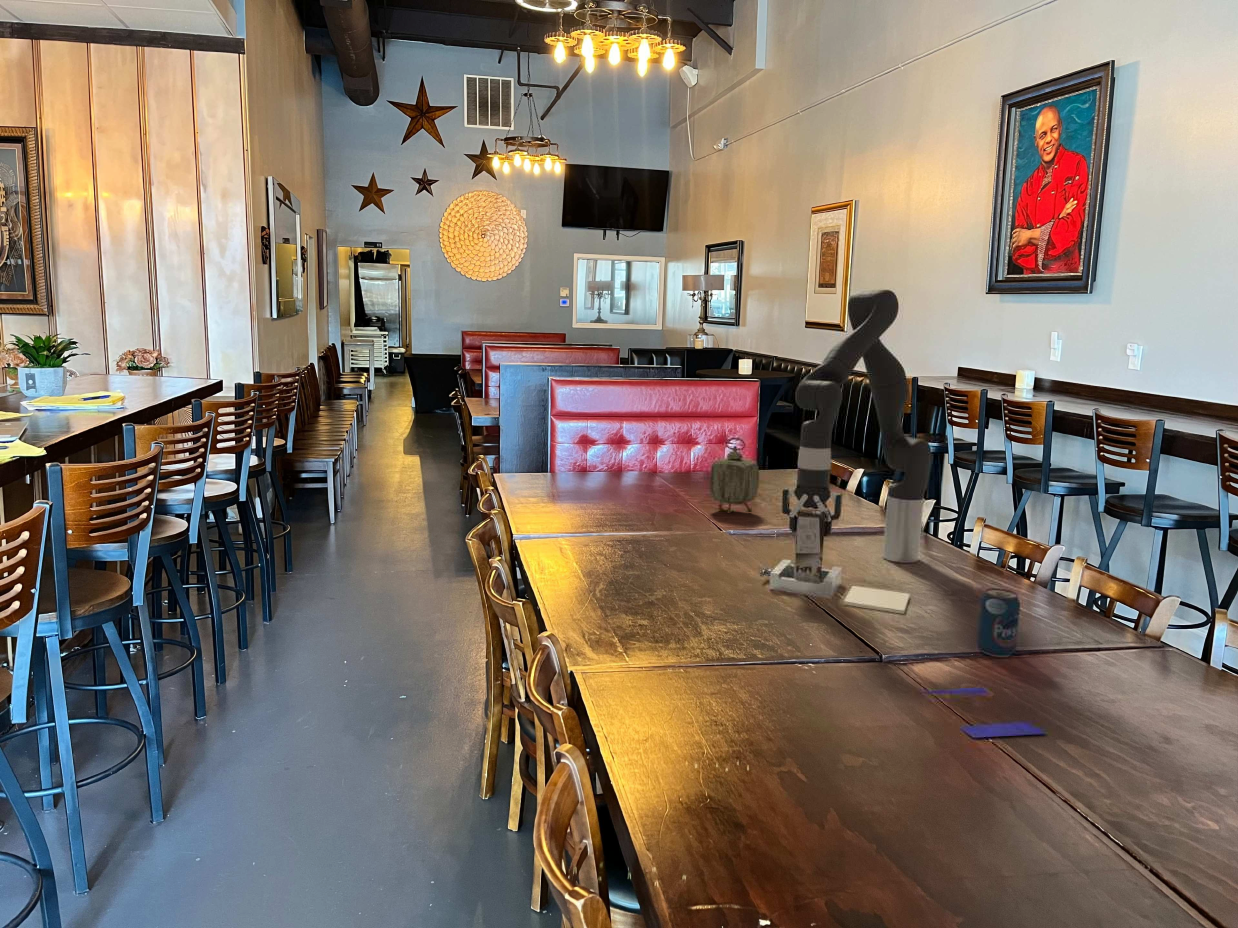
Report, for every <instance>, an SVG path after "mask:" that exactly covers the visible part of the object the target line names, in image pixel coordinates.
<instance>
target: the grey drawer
mask: <svg viewBox="0 0 1238 928" xmlns="http://www.w3.org/2000/svg"><path fill="white" fill-rule="evenodd" d="M842 569H843V568H842V567H841V566H833V567H832V568H831V569H825V568H822V570H821V582H813V581H806V580H800V579H794V564H792V560H791V559H782V560H781V561H780V562H779V564H777V565H776V566H775V567H774V568H773V569H770V568H769V567H765V568H764V569H763V570H762V571H761V572H759V577H765V576H767V577H769V589H768V590H771V589H774V590H773V591H778V590H780V591H779V592H784V591H786V592H785V593H792V594H797V595H803V596H804V595H805V596H811V597H818V598H824V599H832V598H833V596H834V595H835V593H836V591H837V590H838V588H839V587H840V585H841V583H842Z"/></svg>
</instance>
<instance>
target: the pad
mask: <svg viewBox="0 0 1238 928" xmlns="http://www.w3.org/2000/svg"><path fill="white" fill-rule="evenodd" d="M910 595H911V594H910V593H905V592H897V591H891V590H885V589H884V590H883V589H878V588H871V587H864V586H858V585H857V586H856V585H852V586H851V588H850V589H849V592H848V593H847V595H846V596H845V599H844V600H843V605H844V606H851V607H858V608H862V609H863V608H864V609H869V610H877V611H882V612H890V613H896V614H903V615H904V614H905V611H906V607H907V606H908V604H909V603H908V602H909V600H910Z"/></svg>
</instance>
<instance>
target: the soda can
mask: <svg viewBox="0 0 1238 928" xmlns="http://www.w3.org/2000/svg"><path fill="white" fill-rule="evenodd" d="M1020 610H1021V603H1020V600H1019V594H1018V593H1017V592H1015V591H1013V590H1009V589H1005V588H996V587H995V588H994V587H993V588H991V587H990V588H987V589H985V593H984V594H983V595H982V597H981V602H980V610H979V619H978V628H977V636H976V644H977V646H978V648H979V650H980V652H982V653H983V654H985V655H988V656H992V657H996V658H997V657H998V658H1008V657H1010V656H1011V655H1012V654H1013V653H1014V652H1015V651H1016V645H1017V638H1018V628H1019V620H1020Z"/></svg>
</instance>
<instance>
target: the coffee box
mask: <svg viewBox="0 0 1238 928" xmlns="http://www.w3.org/2000/svg"><path fill="white" fill-rule="evenodd" d="M796 516H797V525H796V532H795V544H794V545H795V548H794V563H793V565H794V578H793V579H800V580H806V581H813V582H820V583H822V582H821V570H822V569H823V557H824V556H823V555H824V542H825V536H824V529H825V521H826V519H825V516H824V515H823V514H822V513H821V511H820V509H813V508H804V509H803V508H801V509H800V510H799V511H798V513H797V514H796Z"/></svg>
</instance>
